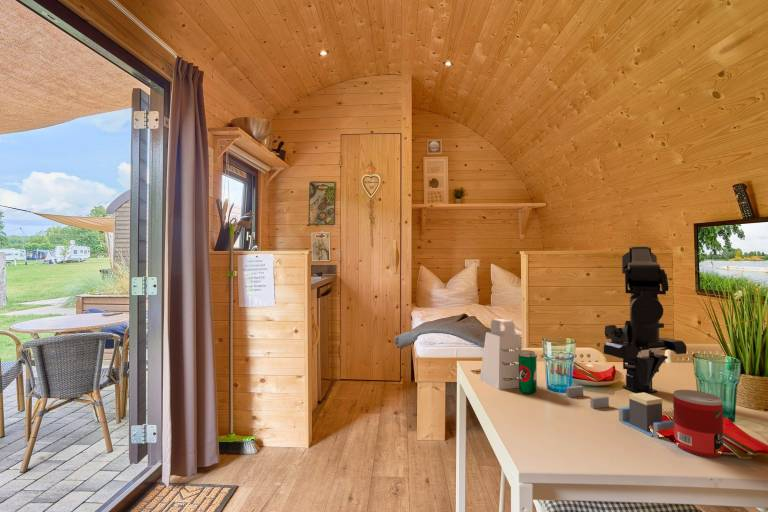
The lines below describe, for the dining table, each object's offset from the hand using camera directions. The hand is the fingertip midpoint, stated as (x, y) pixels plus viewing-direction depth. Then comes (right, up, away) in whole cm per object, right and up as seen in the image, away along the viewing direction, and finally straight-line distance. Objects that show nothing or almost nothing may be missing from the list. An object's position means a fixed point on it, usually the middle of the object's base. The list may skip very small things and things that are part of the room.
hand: (645, 384), depth 92 cm
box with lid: (0, -10, 0) cm, 10 cm away
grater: (-23, -11, +34) cm, 42 cm away
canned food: (+4, -10, -10) cm, 15 cm away
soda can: (-18, -11, +25) cm, 33 cm away
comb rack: (-2, -10, +9) cm, 13 cm away
